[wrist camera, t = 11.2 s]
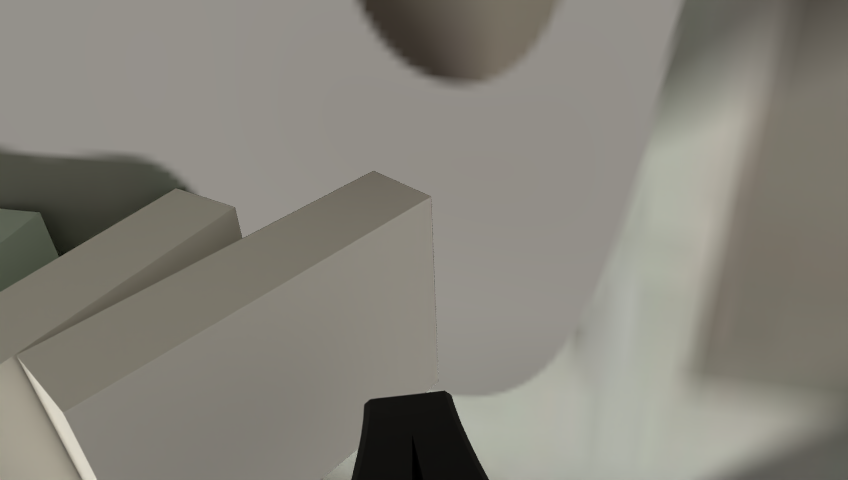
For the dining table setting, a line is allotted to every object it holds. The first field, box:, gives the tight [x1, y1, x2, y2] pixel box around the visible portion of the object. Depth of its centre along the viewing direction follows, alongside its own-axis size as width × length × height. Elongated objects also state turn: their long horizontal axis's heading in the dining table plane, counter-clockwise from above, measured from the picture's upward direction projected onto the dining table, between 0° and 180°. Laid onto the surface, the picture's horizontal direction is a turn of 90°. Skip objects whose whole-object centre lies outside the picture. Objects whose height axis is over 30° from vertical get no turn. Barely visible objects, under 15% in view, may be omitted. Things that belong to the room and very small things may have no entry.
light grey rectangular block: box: [16, 171, 439, 480], centre depth 13 cm, size 2×5×7 cm
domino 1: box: [0, 188, 242, 480], centre depth 12 cm, size 2×5×7 cm
